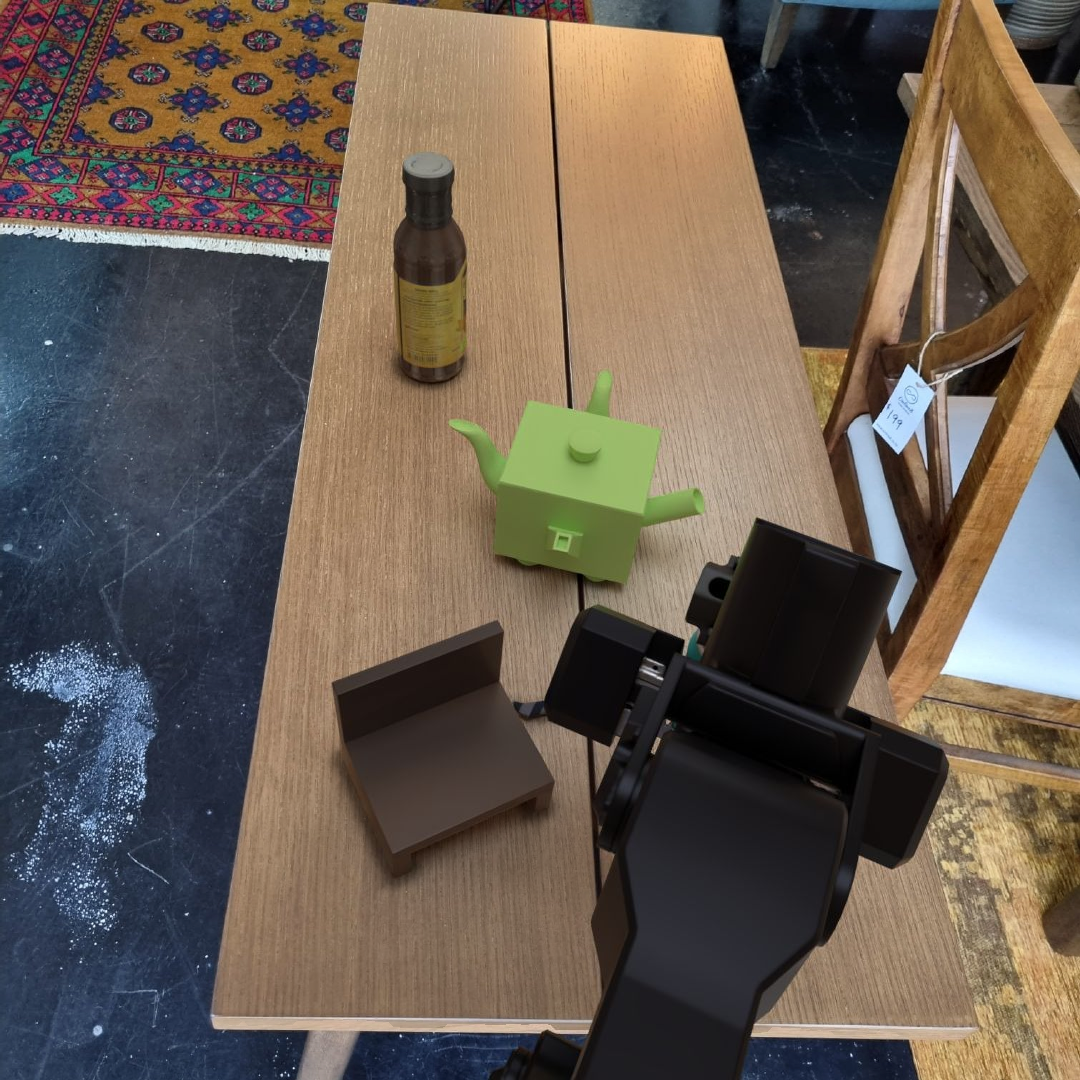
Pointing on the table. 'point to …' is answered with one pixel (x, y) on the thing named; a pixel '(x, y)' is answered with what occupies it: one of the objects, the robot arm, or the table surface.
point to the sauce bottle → (430, 272)
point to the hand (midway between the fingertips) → (741, 699)
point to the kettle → (576, 487)
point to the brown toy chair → (437, 743)
